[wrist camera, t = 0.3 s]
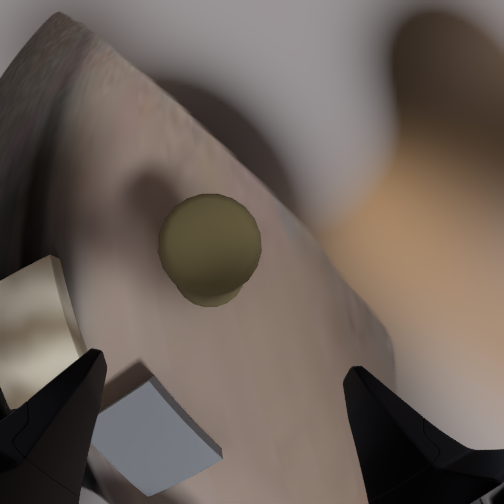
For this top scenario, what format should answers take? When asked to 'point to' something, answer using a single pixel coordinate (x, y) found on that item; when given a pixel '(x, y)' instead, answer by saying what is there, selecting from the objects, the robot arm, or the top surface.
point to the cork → (209, 248)
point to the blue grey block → (153, 439)
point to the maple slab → (36, 330)
